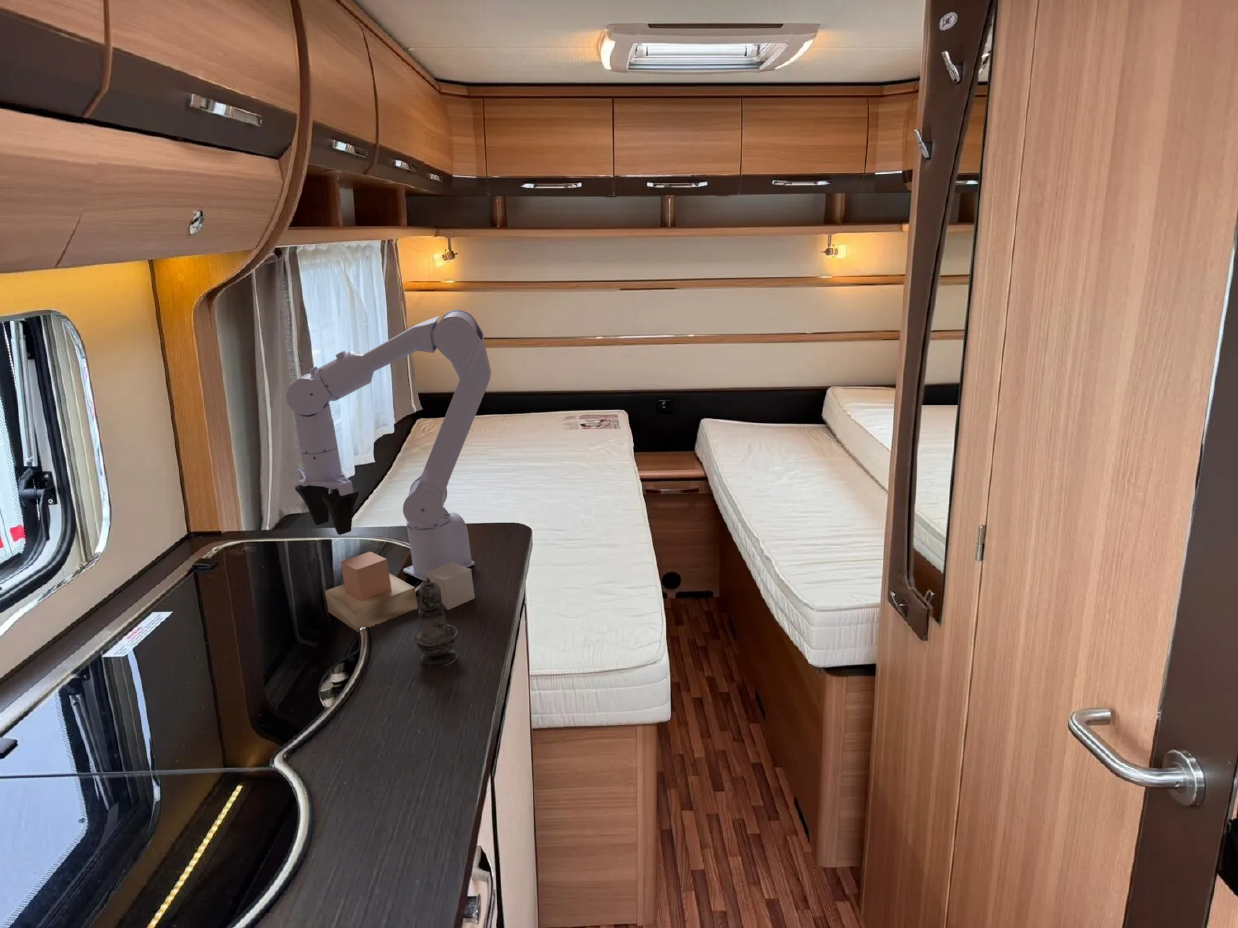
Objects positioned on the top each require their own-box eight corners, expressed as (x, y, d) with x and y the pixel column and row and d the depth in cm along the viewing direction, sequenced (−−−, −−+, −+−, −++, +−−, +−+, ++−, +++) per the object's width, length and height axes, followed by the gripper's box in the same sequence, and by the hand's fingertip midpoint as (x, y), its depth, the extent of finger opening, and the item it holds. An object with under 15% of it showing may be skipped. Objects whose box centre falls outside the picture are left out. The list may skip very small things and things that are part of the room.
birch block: (387, 592, 140) (383, 570, 139) (418, 610, 133) (414, 587, 132) (329, 614, 134) (324, 590, 133) (357, 634, 127) (353, 610, 126)
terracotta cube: (375, 581, 135) (370, 551, 134) (391, 589, 132) (386, 558, 130) (345, 592, 132) (340, 561, 131) (361, 600, 129) (356, 569, 127)
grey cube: (456, 590, 139) (452, 561, 137) (474, 598, 135) (471, 569, 134) (429, 601, 135) (425, 572, 134) (448, 610, 132) (444, 580, 131)
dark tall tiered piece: (408, 664, 117) (395, 583, 113) (436, 644, 122) (424, 565, 118) (442, 672, 114) (430, 589, 110) (469, 651, 119) (459, 571, 115)
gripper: (275, 448, 141) (290, 526, 145) (317, 462, 131) (332, 545, 135) (315, 438, 146) (328, 513, 150) (359, 451, 136) (372, 531, 140)
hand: (333, 527), depth 143 cm, fingers open, 7 cm apart
